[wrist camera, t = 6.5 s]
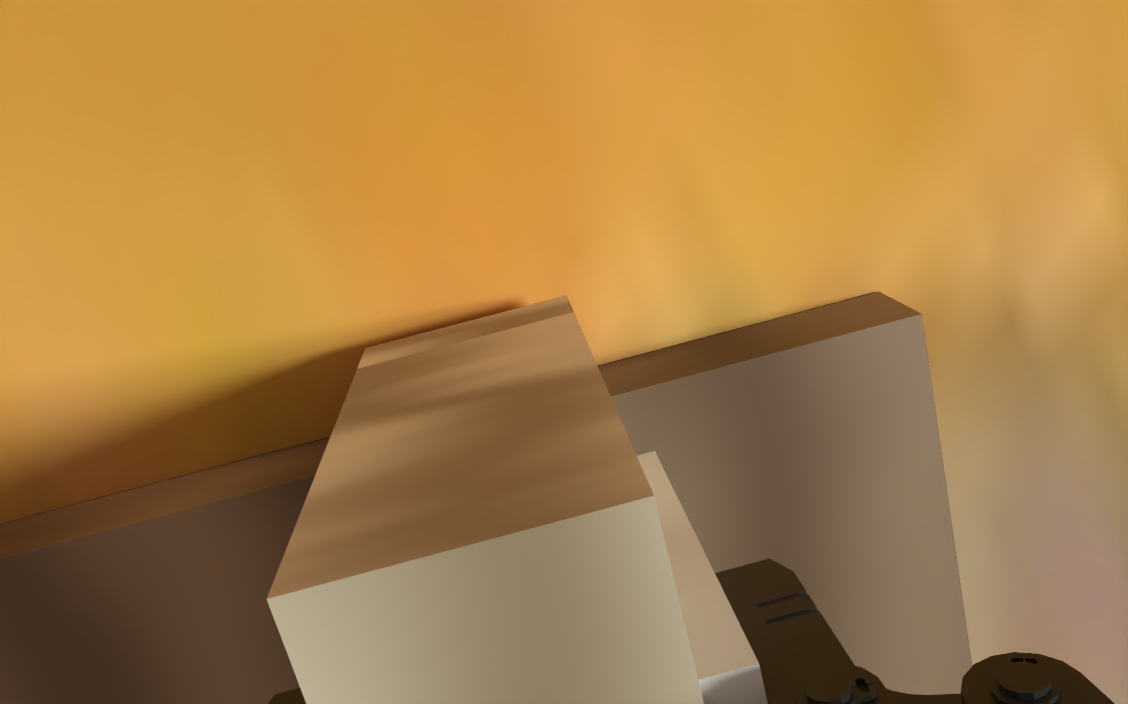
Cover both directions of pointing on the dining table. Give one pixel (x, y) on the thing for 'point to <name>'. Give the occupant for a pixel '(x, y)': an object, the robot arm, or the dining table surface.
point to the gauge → (482, 532)
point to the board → (653, 423)
